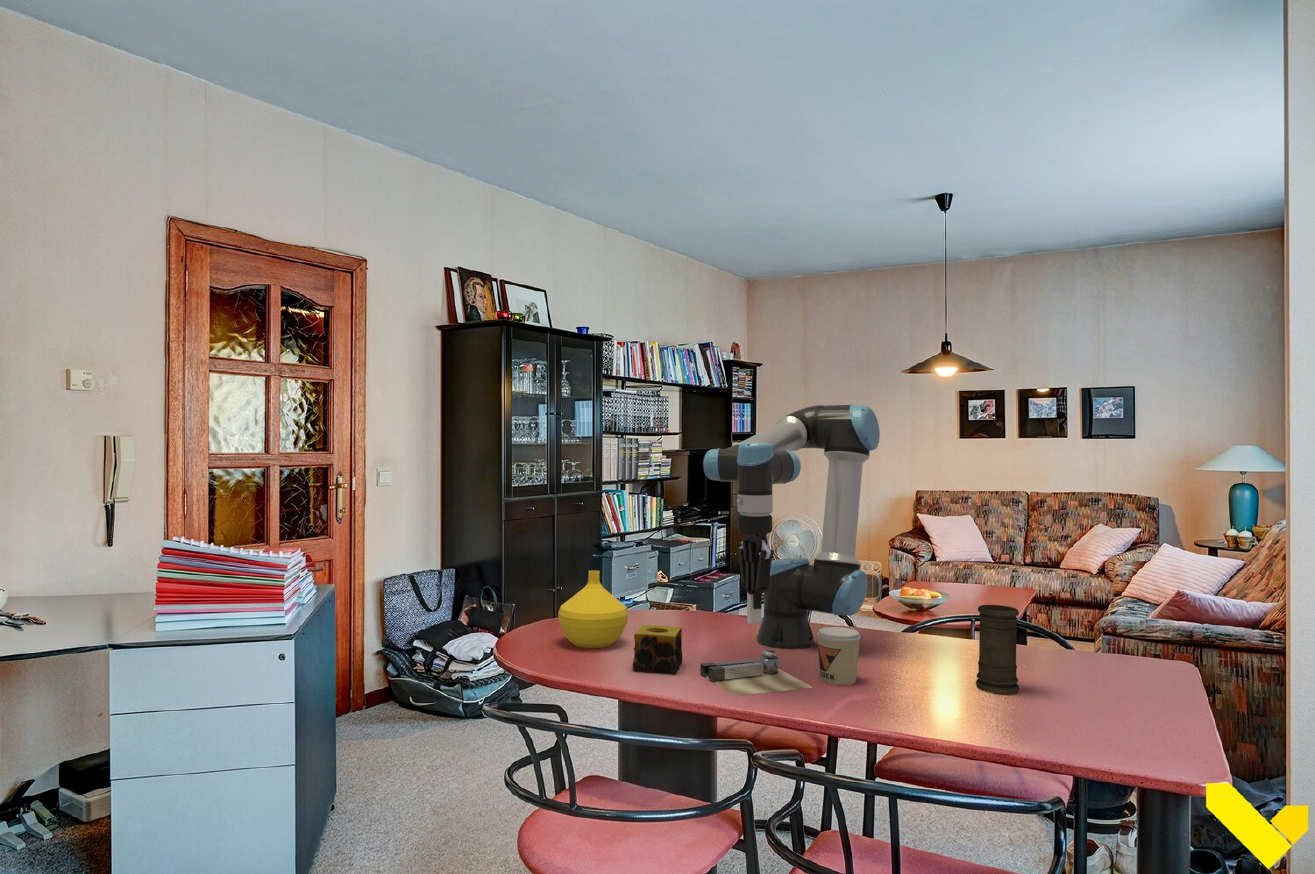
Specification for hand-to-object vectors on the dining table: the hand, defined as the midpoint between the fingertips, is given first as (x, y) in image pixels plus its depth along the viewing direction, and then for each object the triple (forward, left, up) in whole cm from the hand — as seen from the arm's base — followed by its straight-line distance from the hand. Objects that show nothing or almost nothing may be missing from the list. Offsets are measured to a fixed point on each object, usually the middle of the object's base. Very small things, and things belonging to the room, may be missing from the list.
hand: (754, 622), depth 176 cm
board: (-3, -4, -15) cm, 16 cm away
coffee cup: (-21, +1, -15) cm, 26 cm away
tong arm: (-1, -8, -13) cm, 15 cm away
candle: (+14, -20, -15) cm, 29 cm away
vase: (+21, -50, -15) cm, 56 cm away
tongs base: (-2, -9, -14) cm, 16 cm away
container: (-54, +14, -15) cm, 57 cm away
